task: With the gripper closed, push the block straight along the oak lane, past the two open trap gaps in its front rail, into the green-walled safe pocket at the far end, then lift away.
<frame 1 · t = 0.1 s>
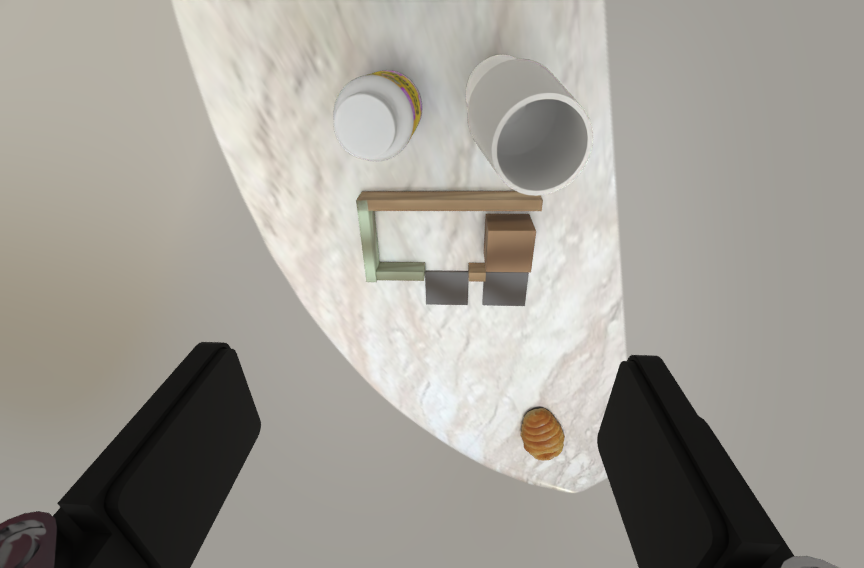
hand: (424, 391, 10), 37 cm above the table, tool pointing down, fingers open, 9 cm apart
block: (505, 233, 47), on the table
pastry: (538, 426, 65), on the table
lane: (448, 233, 47), on the table
champagne flute: (498, 93, 39), on the table
supplement bottle: (390, 105, 41), on the table
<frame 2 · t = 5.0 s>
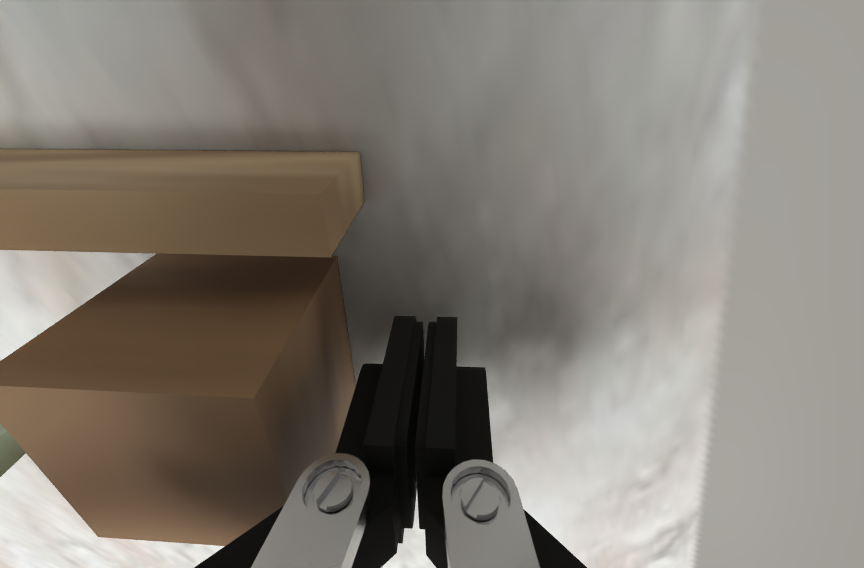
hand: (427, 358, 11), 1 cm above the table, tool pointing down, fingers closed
block: (267, 326, 12), on the table, touching gripper
lane: (62, 318, 12), on the table
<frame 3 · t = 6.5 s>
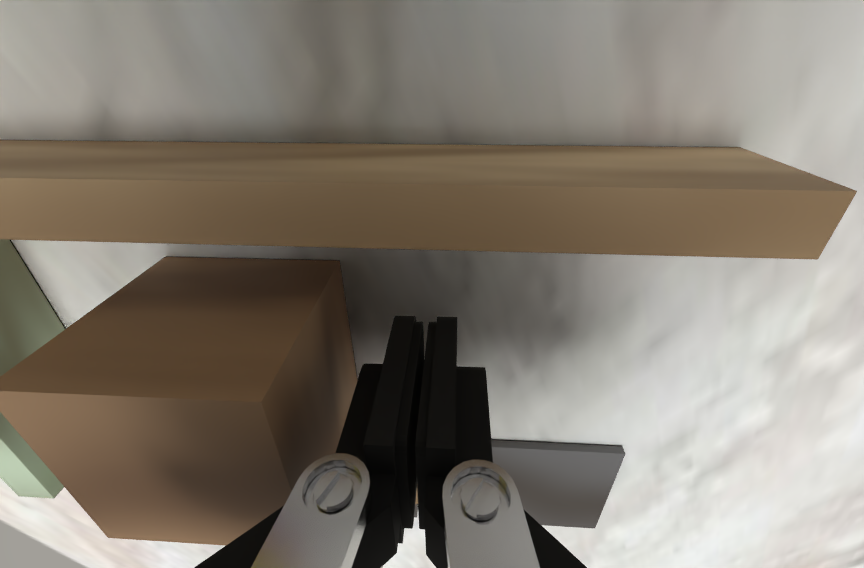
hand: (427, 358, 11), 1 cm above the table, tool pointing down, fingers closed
block: (271, 329, 12), on the table, touching gripper
lane: (328, 320, 12), on the table
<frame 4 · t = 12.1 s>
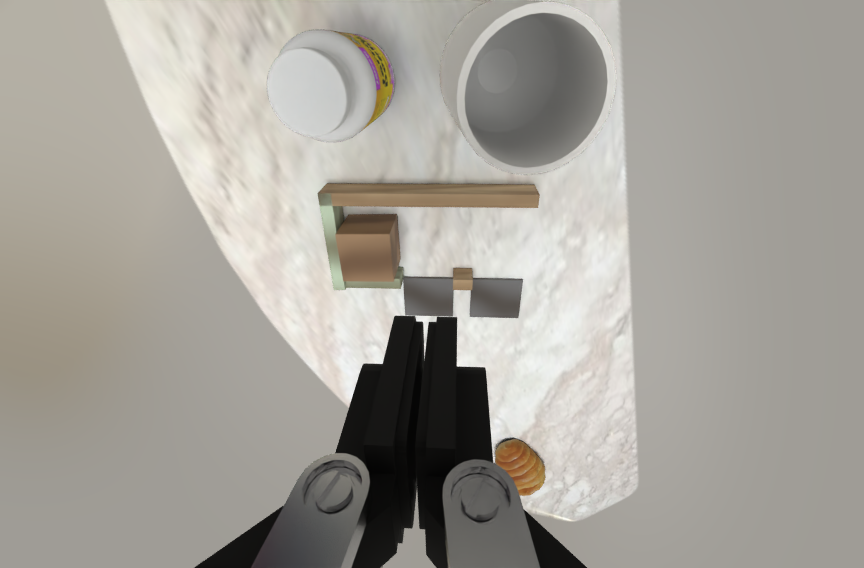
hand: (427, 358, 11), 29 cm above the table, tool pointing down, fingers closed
block: (375, 236, 41), on the table
pastry: (516, 457, 59), on the table
lane: (429, 233, 41), on the table
champagne flute: (487, 64, 33), on the table
supplement bottle: (357, 79, 34), on the table
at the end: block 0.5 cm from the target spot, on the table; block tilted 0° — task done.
